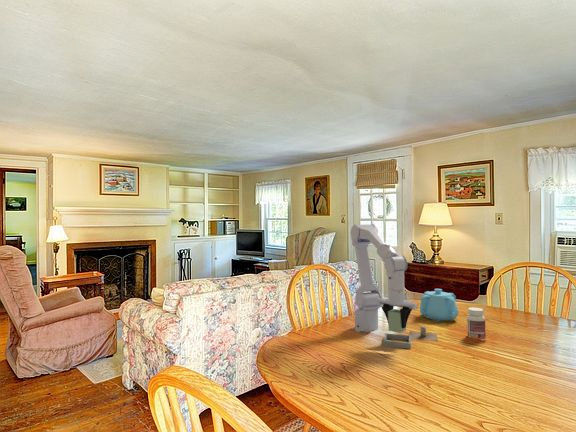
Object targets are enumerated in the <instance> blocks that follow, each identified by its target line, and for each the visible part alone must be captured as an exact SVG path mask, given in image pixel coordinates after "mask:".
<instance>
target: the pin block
mask: <svg viewBox="0 0 576 432" xmlns="http://www.w3.org/2000/svg"><path fill="white" fill-rule="evenodd" d="M419 330H420V331H409V335H411V341H415V340H416V341H425V342H437V343H438V342H439V340H438V339H439V337H438V334H437V333H435V332H427V327H426V326H423V325H422V326H420V327H419Z"/></svg>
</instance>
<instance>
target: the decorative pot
mask: <svg viewBox="0 0 576 432" xmlns="http://www.w3.org/2000/svg"><path fill="white" fill-rule="evenodd" d="M456 301H457V297H456V295H455V294H454V293H453V292H445V291H443V289H442V288H434V291H433V290H432V291H428V290H427V291H424V292H423V295H422V296H421V297H420V305H419V313H420V314H421V315H422V316H423V317H424V318H425V317H426V318H425V319H431V320H434V322H435V321H436V323H441V322H442V321H451V322H453V320H455V319H457V318H458V315H459V307H458V304H457V302H456Z"/></svg>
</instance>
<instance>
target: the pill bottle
mask: <svg viewBox="0 0 576 432" xmlns="http://www.w3.org/2000/svg"><path fill="white" fill-rule="evenodd" d="M467 311H468V312H467V313H468V315H467V316H466V326H467V327H466V328H467V330H466V331H467V337H468V338H470V339H474V340H480V341H481V342H484V341H486V338H487V337H486V336H487V335H486V334H487V333H486V330H487V327H486V317H485V316H484V309H483V308H480V307H468V309H467Z"/></svg>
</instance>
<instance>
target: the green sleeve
mask: <svg viewBox="0 0 576 432" xmlns="http://www.w3.org/2000/svg"><path fill="white" fill-rule="evenodd" d="M387 329H388V330H387V331H388V332H389V331H390V332H394V333H397V334H398V333H399V334H402V333H404V332H405V331H406V330H407V327H406V328H402V325H401V313H400V309H396V308H393V309H392V310H390V311H388V321H387Z"/></svg>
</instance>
